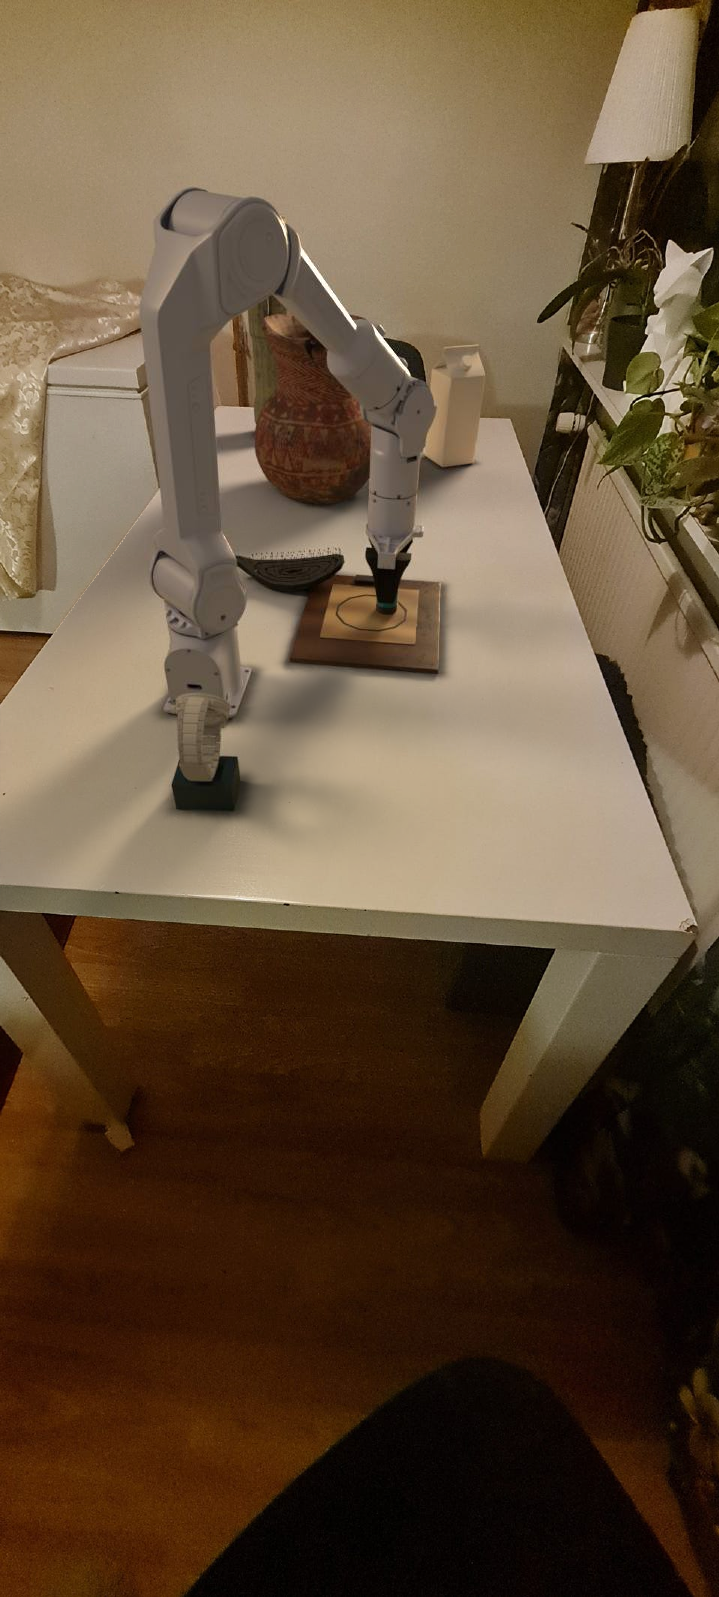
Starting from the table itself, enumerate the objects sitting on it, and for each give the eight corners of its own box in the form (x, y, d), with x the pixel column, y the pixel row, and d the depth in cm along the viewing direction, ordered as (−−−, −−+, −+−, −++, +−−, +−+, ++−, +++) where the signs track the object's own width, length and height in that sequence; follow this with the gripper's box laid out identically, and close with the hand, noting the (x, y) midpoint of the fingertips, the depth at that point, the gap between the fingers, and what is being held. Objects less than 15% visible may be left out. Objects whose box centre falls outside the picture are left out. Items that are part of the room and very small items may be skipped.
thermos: (302, 426, 149) (296, 211, 124) (296, 445, 140) (289, 218, 116) (260, 424, 149) (246, 208, 124) (251, 443, 140) (235, 216, 116)
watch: (243, 767, 72) (232, 676, 64) (231, 824, 66) (218, 732, 58) (187, 765, 72) (171, 674, 64) (171, 822, 66) (150, 729, 58)
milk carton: (423, 455, 138) (433, 342, 125) (455, 451, 141) (468, 339, 127) (441, 468, 134) (454, 352, 121) (473, 463, 136) (489, 349, 123)
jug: (367, 519, 116) (374, 342, 98) (243, 507, 118) (228, 331, 100) (384, 471, 132) (393, 311, 114) (275, 461, 134) (267, 302, 116)
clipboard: (437, 673, 85) (438, 665, 84) (289, 661, 86) (289, 653, 85) (440, 585, 100) (441, 578, 100) (314, 576, 101) (314, 568, 100)
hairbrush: (177, 538, 103) (347, 539, 99) (183, 562, 105) (349, 564, 102) (158, 564, 97) (338, 566, 93) (165, 589, 99) (340, 592, 96)
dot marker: (396, 616, 93) (400, 565, 88) (374, 614, 93) (376, 563, 88) (398, 604, 95) (402, 554, 90) (375, 603, 95) (378, 553, 90)
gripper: (425, 517, 78) (415, 626, 87) (428, 469, 88) (419, 572, 98) (361, 513, 78) (358, 622, 87) (372, 466, 88) (368, 568, 98)
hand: (386, 595), depth 93 cm, fingers closed on dot marker, 3 cm apart
